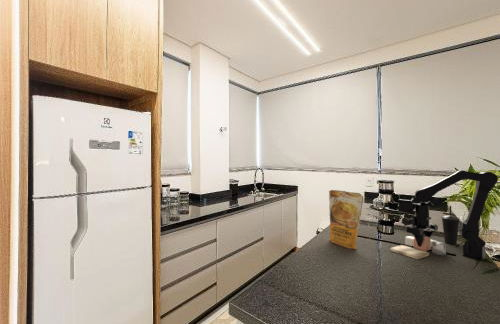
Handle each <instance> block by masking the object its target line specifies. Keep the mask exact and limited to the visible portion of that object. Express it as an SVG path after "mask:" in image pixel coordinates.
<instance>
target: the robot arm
mask: <svg viewBox="0 0 500 324" xmlns="http://www.w3.org/2000/svg"><path fill="white" fill-rule="evenodd" d="M462 180H469V181H475V192H474V195H473V197H472V198H473V199H472V201H471V204H470V207H469V211H468V214H467V216H466V219H465V220H464V221H463V220H459V227H458V233H459V234H460V236H461V237H462V238H463V239H464V240H465V241H464V242H463V244H462V256H463V257H466V258H470V259H474V260H476V261H477V260H478V261H484V260H485V259H487V256H486V247H485V246H486V244H487V242H486V241H485V240H483V238H482V237H480V220H481V218H482V214H483V211H484V208H485V204H486V202H487V199H488V196H489V194H490V192H492V190H493V189H494V187H495V186H496V184H497V182H498V181H499V177H498V175H497V174H495V173H494V172H490V171H481V172H473V171H467V170H462V169H461V170H460V169H459V170H457V171H456V172H454V173H452V174H451V175H449V176H447V177H445V178H443V179H441V180H438V182H436V183H434V184H432V185H428V186H425V187H422V188H420V189H417V190H416V191H415V193H414V195H413V197H411V199H401V198H398V205H397V212H398V213H404V214H411V213H413V212H414V211H415V212H414V215H412V218H408V217H402V218H401V224H402V225H404V227H405V232H406V233H408V234H412V235H413V237H415V239H416V242H417V244H418V246H419V247H421V245H422V243H423V240H424V238H425V236H427V237H430V239H432V236H433V235H434V233H435V232H436V231H438V230H439V228H438V227H439V226H438V225H437V224H435V223H430V220H432V217H431V216H430V207H435V205H434V204H433V203H432V202H431V201H430V199H432V197H434V196H435V195H437V193H439V192H441V191H443V190H444V189H446V188H449V187H450V186H452V185H454V184H457V183H458V182H460V181H462Z"/></svg>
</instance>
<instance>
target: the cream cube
mask: <svg viewBox="0 0 500 324" xmlns="http://www.w3.org/2000/svg"><path fill="white" fill-rule="evenodd" d="M404 238H405V240H404V246H408V247H412V246H413V247H412V248H414V236H411V235H409V236H408V235H407V236H405V237H404Z"/></svg>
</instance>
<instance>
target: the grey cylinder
mask: <svg viewBox="0 0 500 324" xmlns="http://www.w3.org/2000/svg"><path fill="white" fill-rule="evenodd" d="M446 244H447V243H445V242H442V241H438V240H435V241H432V247H431V252H432V254H434V255H438V256H446V255H447V252H446V251H447V248H446V246H447V245H446Z"/></svg>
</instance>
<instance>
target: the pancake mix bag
mask: <svg viewBox="0 0 500 324" xmlns="http://www.w3.org/2000/svg"><path fill="white" fill-rule="evenodd" d="M328 197H329V198H328V200H329V227H330V228H329V229H330V231H329V232H330V233H329V241H330V243H333V244H335V245H337V246H340V247H344V248H345V249H349V250H357V244H356V243H357V239H358V234H359V233H358V232H359V227H360V221H361V216H362V208H363V202H364V195H362V194H361V193H360V192H350V191H346V190H337V189H331V190H328Z"/></svg>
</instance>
